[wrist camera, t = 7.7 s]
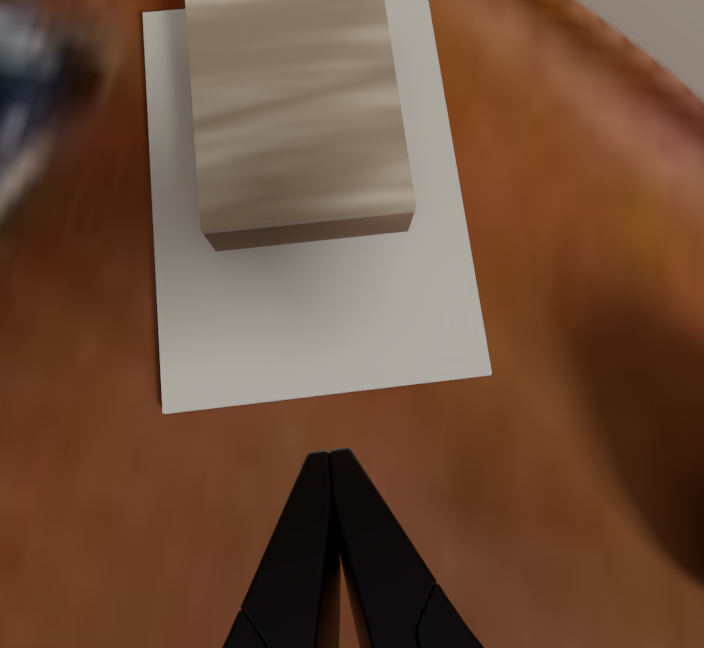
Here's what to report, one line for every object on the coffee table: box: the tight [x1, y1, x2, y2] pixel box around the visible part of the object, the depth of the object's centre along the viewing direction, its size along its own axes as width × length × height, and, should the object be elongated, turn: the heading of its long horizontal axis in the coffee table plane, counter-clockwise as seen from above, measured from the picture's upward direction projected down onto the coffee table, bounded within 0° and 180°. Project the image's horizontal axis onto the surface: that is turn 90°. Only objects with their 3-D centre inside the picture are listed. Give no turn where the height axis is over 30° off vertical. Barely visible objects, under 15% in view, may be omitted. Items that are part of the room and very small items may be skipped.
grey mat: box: [143, 0, 492, 414], centre depth 22 cm, size 18×13×1 cm
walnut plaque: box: [185, 0, 416, 252], centre depth 21 cm, size 2×8×10 cm
